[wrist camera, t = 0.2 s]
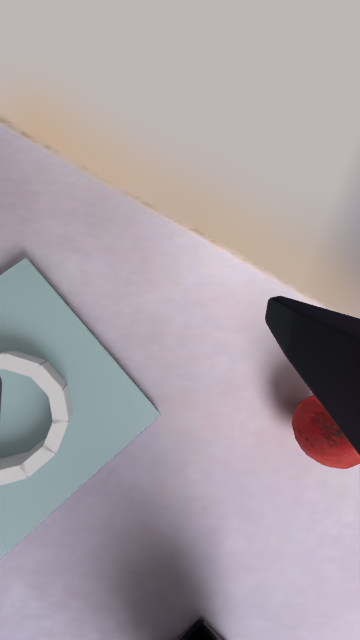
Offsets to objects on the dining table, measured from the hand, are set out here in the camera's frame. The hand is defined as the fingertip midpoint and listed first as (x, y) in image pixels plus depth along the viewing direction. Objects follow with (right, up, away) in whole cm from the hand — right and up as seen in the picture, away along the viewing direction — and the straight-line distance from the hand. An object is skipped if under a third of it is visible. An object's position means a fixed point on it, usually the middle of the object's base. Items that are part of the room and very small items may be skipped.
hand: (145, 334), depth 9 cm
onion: (+13, -9, +19) cm, 24 cm away
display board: (-12, -6, +13) cm, 18 cm away
